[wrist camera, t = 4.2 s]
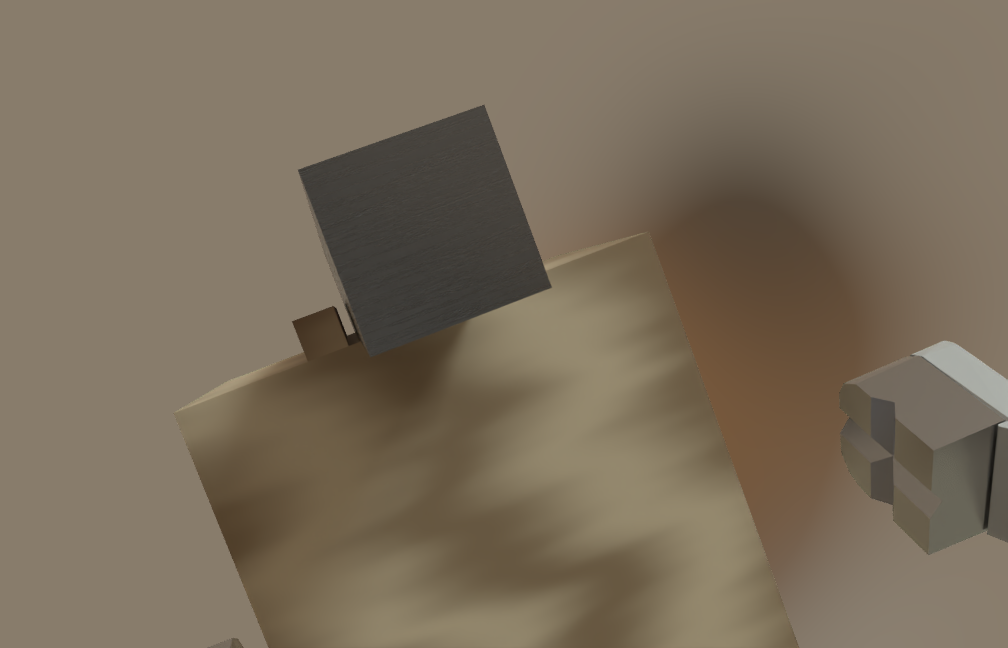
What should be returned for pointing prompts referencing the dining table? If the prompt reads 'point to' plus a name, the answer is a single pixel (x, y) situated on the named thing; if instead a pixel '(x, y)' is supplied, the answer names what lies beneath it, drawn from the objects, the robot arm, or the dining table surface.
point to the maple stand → (492, 480)
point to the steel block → (423, 230)
